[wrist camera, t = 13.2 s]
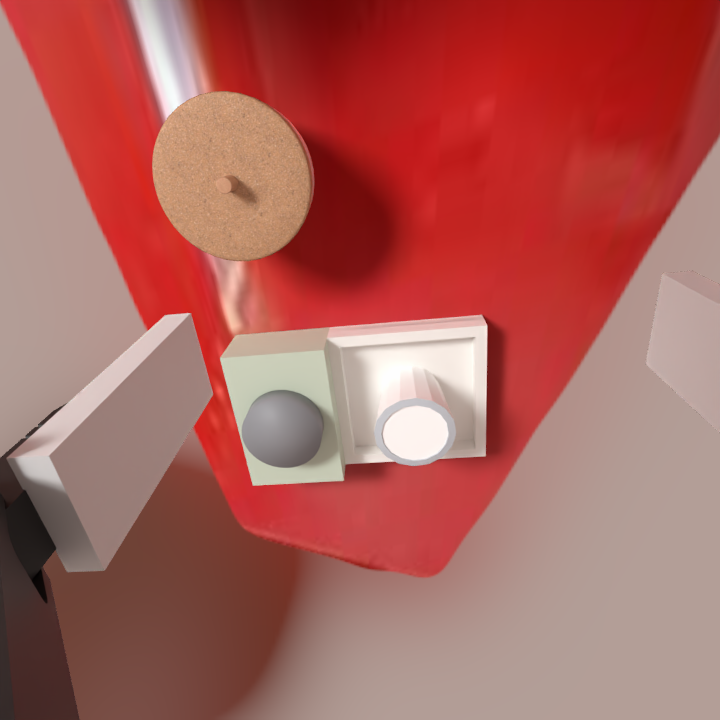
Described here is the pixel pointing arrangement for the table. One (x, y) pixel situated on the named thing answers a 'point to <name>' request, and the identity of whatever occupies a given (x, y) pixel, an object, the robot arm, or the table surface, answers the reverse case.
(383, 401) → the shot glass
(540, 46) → the table surface
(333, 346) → the knobbed tray panel
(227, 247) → the lidded jar
